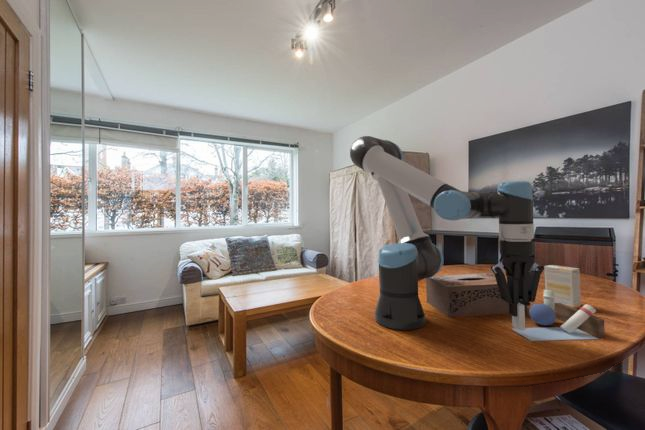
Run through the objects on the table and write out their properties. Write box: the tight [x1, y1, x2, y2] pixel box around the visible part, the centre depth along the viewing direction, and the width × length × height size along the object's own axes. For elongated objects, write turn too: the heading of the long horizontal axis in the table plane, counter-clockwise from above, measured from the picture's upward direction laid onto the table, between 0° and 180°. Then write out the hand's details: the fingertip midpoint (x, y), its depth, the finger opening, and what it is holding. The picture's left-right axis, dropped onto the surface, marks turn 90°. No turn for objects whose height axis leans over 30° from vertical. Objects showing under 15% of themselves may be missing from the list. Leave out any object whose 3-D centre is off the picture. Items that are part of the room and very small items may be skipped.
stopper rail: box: [554, 303, 606, 338], centre depth 75 cm, size 2×13×4 cm, turn 0°
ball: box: [528, 303, 557, 327], centre depth 77 cm, size 6×6×6 cm
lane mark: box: [511, 326, 599, 342], centre depth 71 cm, size 17×7×1 cm, turn 90°
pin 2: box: [559, 303, 597, 334], centre depth 71 cm, size 2×2×9 cm
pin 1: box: [542, 289, 556, 324], centre depth 79 cm, size 2×2×9 cm
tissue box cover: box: [425, 272, 519, 318], centre depth 93 cm, size 26×14×10 cm, turn 94°
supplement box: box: [543, 264, 582, 309], centre depth 92 cm, size 8×5×13 cm, turn 22°
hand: (518, 327), depth 71 cm, fingers closed
